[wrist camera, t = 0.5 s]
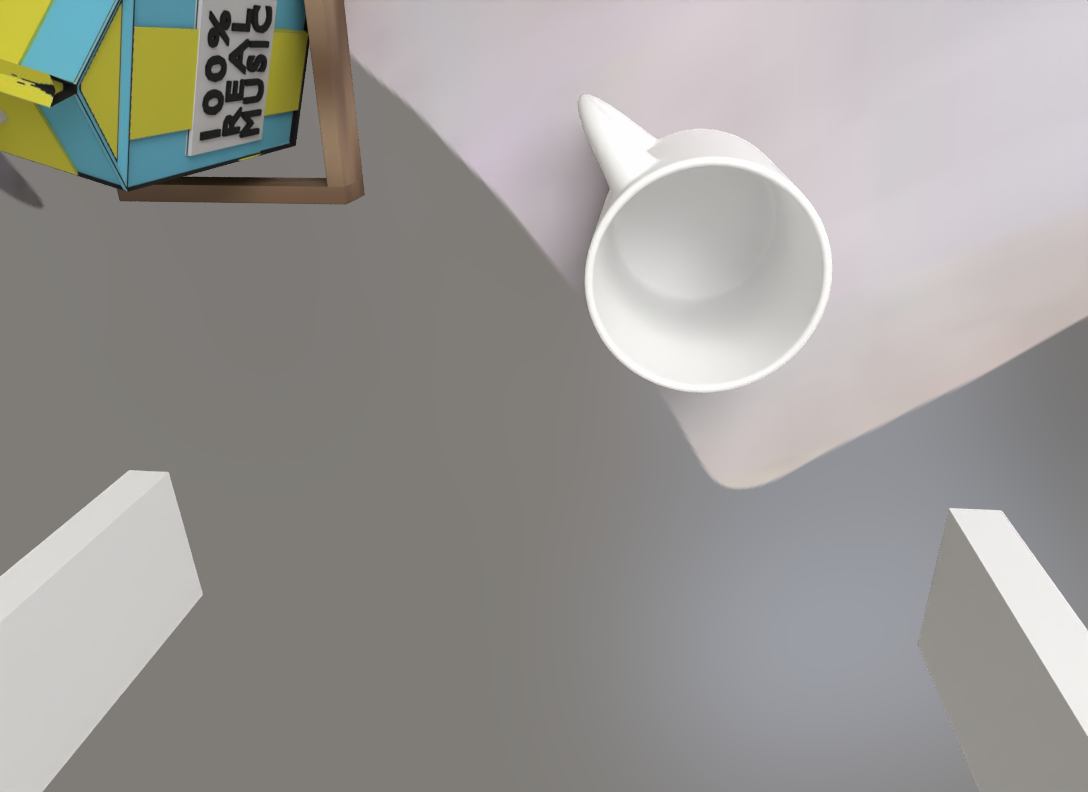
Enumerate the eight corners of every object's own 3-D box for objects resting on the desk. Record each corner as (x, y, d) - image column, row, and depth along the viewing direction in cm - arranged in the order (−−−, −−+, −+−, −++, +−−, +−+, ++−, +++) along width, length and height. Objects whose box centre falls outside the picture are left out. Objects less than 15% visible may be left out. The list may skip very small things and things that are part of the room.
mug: (671, 19, 33) (676, 8, 24) (822, 235, 36) (881, 305, 26) (522, 148, 36) (473, 186, 27) (672, 338, 39) (676, 434, 30)
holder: (87, -93, 34) (47, -103, 32) (332, -103, 33) (308, -114, 31) (150, 192, 40) (119, 201, 37) (364, 194, 38) (346, 204, 36)
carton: (154, 118, 38) (-222, 172, 22) (164, -57, 35) (-274, -148, 18) (296, 163, 38) (26, 252, 22) (319, -7, 35) (19, -53, 18)
